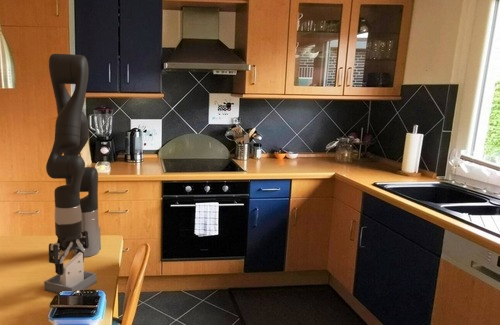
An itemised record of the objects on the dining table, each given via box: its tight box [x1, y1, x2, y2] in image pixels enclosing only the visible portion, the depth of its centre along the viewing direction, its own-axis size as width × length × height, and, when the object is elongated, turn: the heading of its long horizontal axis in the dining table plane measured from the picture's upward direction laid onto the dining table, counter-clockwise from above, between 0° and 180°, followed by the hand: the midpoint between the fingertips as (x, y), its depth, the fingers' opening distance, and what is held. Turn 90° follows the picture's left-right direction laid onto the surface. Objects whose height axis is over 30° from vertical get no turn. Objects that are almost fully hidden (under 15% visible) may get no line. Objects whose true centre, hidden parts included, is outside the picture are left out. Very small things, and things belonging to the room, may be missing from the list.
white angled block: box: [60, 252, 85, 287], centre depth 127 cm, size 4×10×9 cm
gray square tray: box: [43, 270, 98, 295], centre depth 126 cm, size 11×11×3 cm
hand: (70, 268), depth 125 cm, fingers open, 8 cm apart
